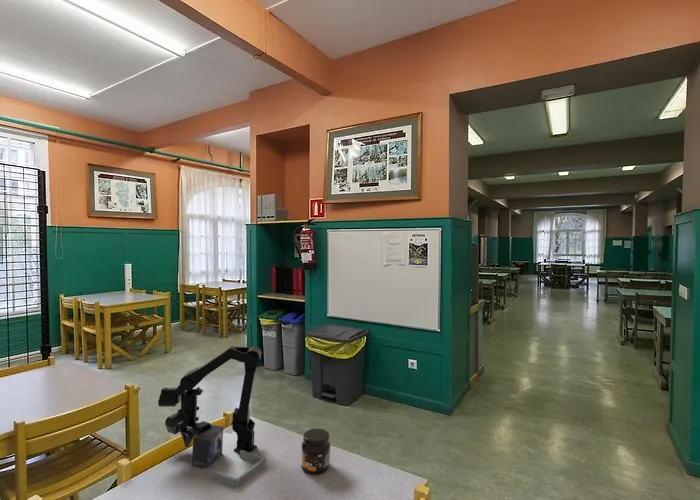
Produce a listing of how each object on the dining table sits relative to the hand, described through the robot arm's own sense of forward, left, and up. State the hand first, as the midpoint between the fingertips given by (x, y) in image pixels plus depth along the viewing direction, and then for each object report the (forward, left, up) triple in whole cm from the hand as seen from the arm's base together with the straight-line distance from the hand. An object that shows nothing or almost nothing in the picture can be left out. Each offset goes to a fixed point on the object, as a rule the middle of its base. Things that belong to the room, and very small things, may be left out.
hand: (187, 446), depth 138 cm
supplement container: (-15, +48, -2) cm, 51 cm away
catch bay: (0, +26, -2) cm, 26 cm away
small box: (0, +11, -2) cm, 11 cm away
